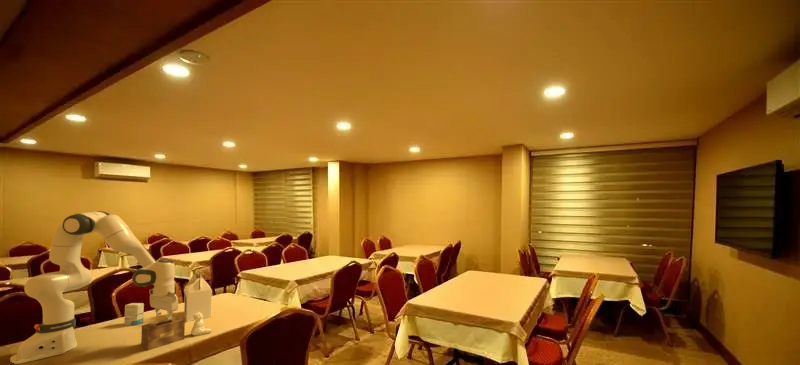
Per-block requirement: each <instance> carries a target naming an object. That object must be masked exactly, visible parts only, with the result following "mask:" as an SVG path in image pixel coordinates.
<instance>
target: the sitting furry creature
mask: <svg viewBox="0 0 800 365" xmlns="http://www.w3.org/2000/svg"><path fill="white" fill-rule="evenodd" d="M193 317H194V319H195V320H194V323H193V326H192V328H191V331H190V333H191V335H192V336H195V337H198V336H203V335H207V334H208V335H209V334H211V333H212V329H211V328H205V322H204V320H203V319H202V318H203V316H202V314H201V313H200V312H197V313H196V314H193Z"/></svg>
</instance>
